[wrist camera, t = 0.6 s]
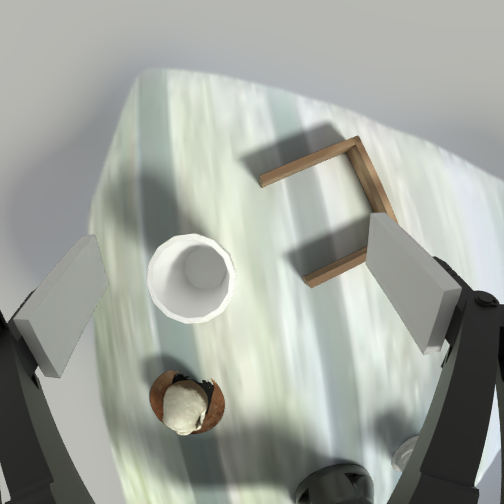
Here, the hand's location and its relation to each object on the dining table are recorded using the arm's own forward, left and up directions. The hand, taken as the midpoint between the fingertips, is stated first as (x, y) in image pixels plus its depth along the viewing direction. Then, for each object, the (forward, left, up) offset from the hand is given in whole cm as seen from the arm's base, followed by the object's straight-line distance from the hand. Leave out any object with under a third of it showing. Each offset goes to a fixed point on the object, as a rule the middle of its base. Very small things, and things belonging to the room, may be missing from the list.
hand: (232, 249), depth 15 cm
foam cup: (-1, +6, -32) cm, 32 cm away
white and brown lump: (-19, +19, -32) cm, 41 cm away
